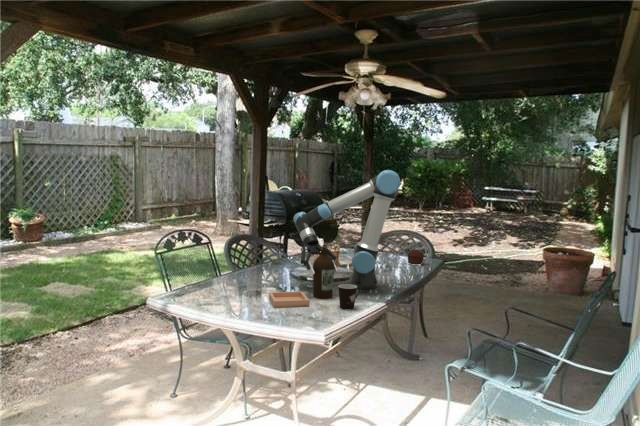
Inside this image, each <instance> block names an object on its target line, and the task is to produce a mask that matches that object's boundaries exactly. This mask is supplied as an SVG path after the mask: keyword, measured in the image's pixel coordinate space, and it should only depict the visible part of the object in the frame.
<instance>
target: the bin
mask: <svg viewBox="0 0 640 426" xmlns="http://www.w3.org/2000/svg"><path fill="white" fill-rule="evenodd" d="M268 299H269V301H270V303H271V305H272V307H273V308H274V309H280V308H307V307H310V299H309V298H308V297H307V296H306V294H305V293H304V291H275V292H274V291H269V293H268Z"/></svg>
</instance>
